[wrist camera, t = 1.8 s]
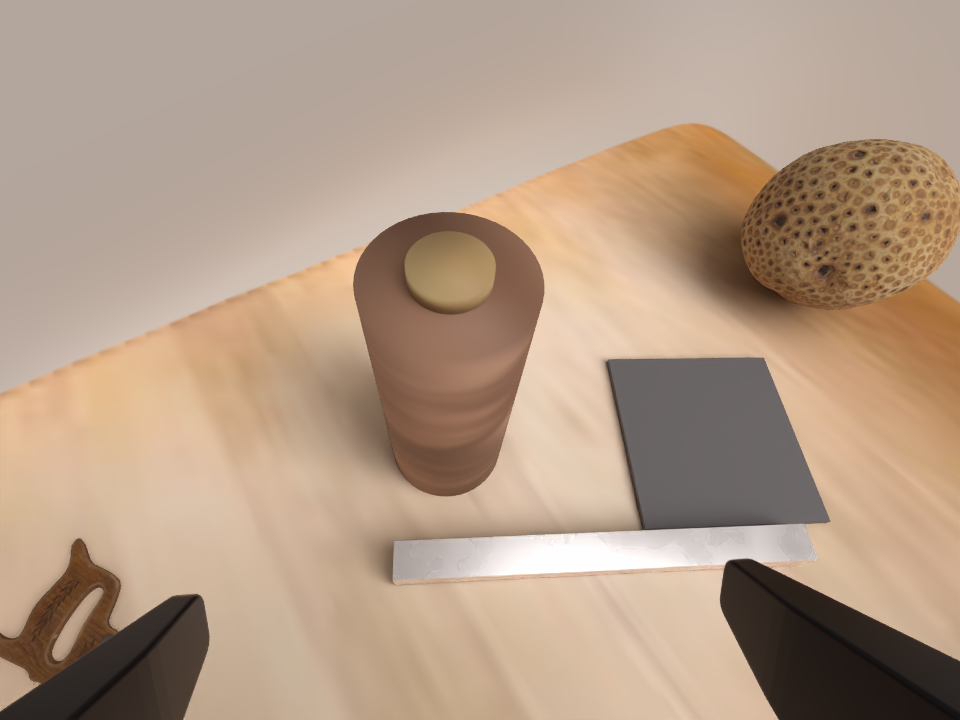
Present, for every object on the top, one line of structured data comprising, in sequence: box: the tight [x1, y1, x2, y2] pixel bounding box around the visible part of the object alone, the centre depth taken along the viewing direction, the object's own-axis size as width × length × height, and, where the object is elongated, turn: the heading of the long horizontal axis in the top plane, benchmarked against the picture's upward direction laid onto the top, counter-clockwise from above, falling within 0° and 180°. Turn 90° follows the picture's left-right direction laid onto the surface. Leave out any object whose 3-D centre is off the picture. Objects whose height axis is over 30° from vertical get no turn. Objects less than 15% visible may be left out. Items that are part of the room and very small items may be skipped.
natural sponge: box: [741, 139, 960, 310], centre depth 26 cm, size 9×9×10 cm
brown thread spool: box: [353, 212, 544, 496], centre depth 18 cm, size 5×5×13 cm
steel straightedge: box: [393, 524, 818, 585], centre depth 21 cm, size 18×2×2 cm, turn 93°
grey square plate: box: [607, 358, 830, 530], centre depth 25 cm, size 9×9×1 cm
